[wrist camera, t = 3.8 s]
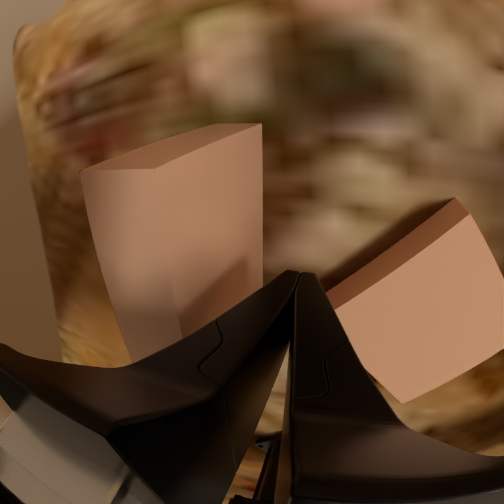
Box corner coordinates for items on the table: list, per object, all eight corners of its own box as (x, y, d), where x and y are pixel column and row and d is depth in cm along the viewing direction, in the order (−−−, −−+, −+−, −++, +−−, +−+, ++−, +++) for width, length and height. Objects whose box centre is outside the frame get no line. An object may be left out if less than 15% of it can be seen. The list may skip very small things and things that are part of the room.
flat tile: (400, 374, 17) (402, 403, 15) (320, 292, 15) (315, 321, 14) (510, 306, 13) (524, 333, 11) (452, 194, 11) (470, 213, 9)
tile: (262, 123, 12) (155, 168, 5) (262, 288, 16) (203, 421, 9) (209, 123, 13) (70, 171, 6) (220, 281, 16) (144, 402, 10)
